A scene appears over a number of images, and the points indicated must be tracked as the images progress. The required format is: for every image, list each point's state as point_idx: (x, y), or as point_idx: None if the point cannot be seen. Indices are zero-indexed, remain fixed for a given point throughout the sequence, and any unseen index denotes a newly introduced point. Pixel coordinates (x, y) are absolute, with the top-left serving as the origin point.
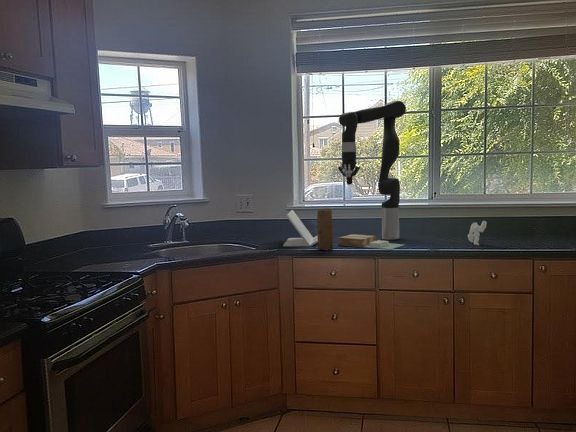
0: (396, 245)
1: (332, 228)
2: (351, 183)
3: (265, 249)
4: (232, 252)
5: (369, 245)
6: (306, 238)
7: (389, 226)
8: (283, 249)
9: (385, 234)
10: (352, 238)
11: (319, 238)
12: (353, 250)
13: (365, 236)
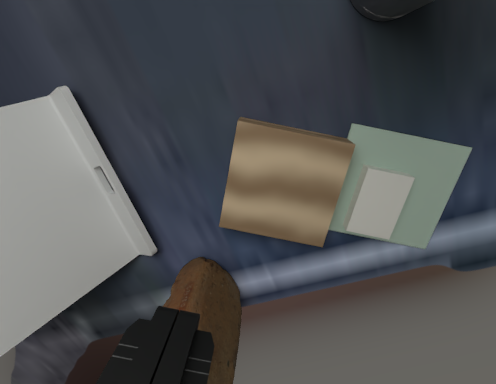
0: (439, 176)
1: (237, 349)
2: (198, 324)
3: (57, 328)
4: (14, 377)
5: (344, 226)
6: (105, 246)
7: (422, 4)
8: (102, 318)
9: (378, 13)
10: (280, 234)
11: None
12: (307, 286)
13: (316, 174)
